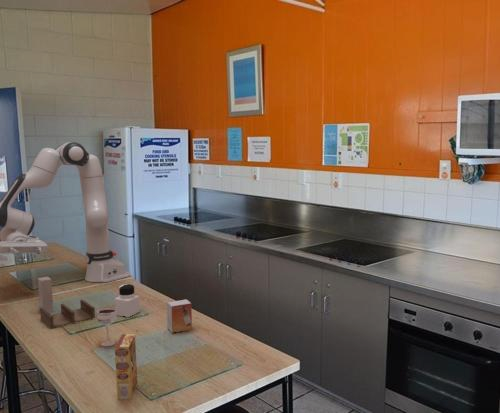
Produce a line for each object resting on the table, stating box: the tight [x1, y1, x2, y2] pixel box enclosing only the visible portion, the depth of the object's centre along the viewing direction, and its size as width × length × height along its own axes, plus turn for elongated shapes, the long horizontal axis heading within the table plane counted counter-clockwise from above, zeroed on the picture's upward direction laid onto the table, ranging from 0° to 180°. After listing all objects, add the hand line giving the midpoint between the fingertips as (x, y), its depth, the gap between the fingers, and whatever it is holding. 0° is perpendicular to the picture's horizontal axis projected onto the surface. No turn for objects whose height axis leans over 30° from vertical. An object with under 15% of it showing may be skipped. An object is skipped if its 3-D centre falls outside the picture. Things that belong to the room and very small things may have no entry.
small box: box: [166, 299, 193, 334], centre depth 179 cm, size 8×6×10 cm
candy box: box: [114, 333, 138, 401], centre depth 134 cm, size 9×4×15 cm, turn 3°
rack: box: [39, 299, 96, 330], centre depth 190 cm, size 17×13×4 cm
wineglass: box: [96, 306, 118, 347], centre depth 167 cm, size 7×7×12 cm
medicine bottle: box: [114, 283, 140, 318], centre depth 195 cm, size 7×7×12 cm
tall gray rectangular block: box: [37, 276, 54, 314], centre depth 198 cm, size 4×5×14 cm
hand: (28, 252), depth 207 cm, fingers open, 8 cm apart
